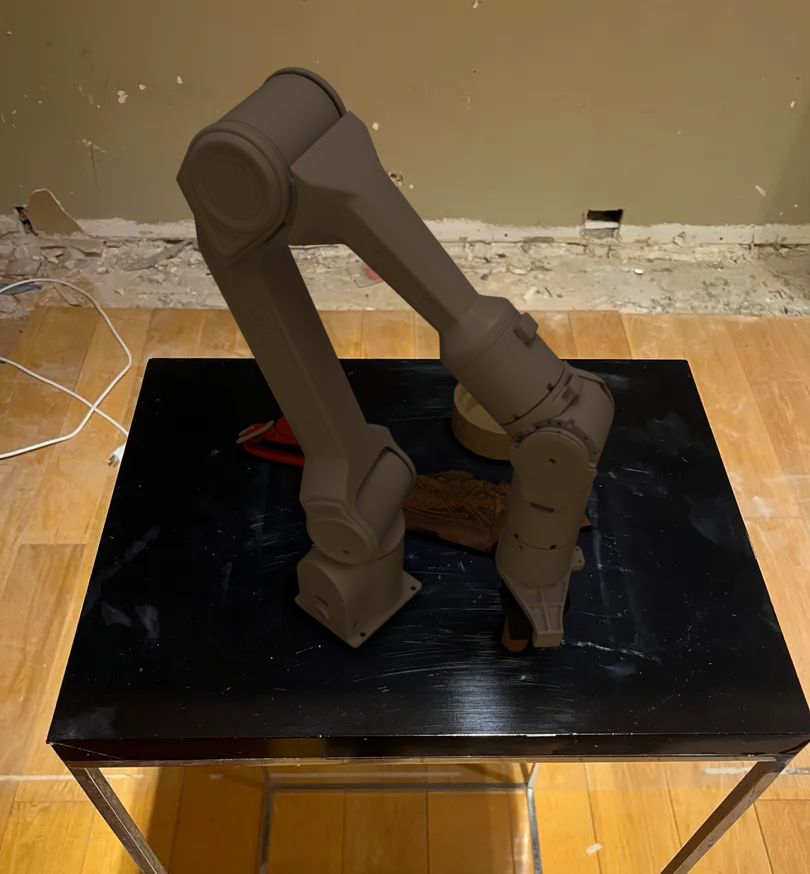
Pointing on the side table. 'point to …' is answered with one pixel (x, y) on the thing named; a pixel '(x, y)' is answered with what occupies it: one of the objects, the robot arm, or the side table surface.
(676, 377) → the side table surface
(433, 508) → the wooden fragment
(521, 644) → the stick
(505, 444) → the bowl
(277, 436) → the tracker holder
